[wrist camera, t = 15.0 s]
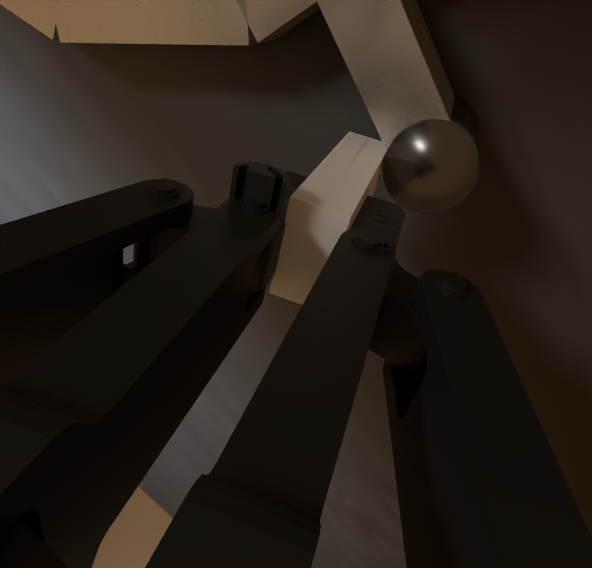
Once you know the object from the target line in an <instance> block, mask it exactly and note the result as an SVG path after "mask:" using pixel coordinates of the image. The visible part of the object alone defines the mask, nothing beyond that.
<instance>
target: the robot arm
mask: <svg viewBox="0 0 592 568" xmlns="http://www.w3.org/2000/svg"><path fill="white" fill-rule="evenodd" d="M386 152H387V150H386V148H385V146H384V144H383V142H382V141H379V140H376V139H373V138H369V137H366V136H363V135H360V134H356V133H353V132H350V131H349V132H348V134H347V135H346V136H345V137H344V138H343V139H342V140H341V141H340V142H339V143H338V145H337V146H336V147H335V148H334V149H333V150H332V151H331V152H330V153H329V155H328V156H327V157H326V158H325V159H324V160H323V161H322V162H321V163H320V164H319V166H318V167H317V168H316V169H315V170H314V171H313V172H312V173H311V174H310V175H309V177H304V176H301V175H298V174H295V173H292V172H289V171H287V172H283V171H281V170H280V169H278V168H276V167H273V166H271V165H267V164H263V163H256V162H241V163H238V164H235V165H234V168H233V176H232V183H231V190H230V197H229V198H228V199H227V200H226V201H225V202H224V203H222V204H221V205H220V206H219V207H218V208H209V207H203V206H197V205H193V198H194V193H193V192H192V190H191V189H190V188H189V187H187V186H186V185H184V184H181V183H178V182H177V181H175V180H169V179H152V180H146V181H142V182H139V183H136V184H132V185H129V186H126V187H122V188H119V189H116V190H113V191H109V192H106V193H103V194H100V195H96V196H93V197H90V198H87V199H83V200H80V201H77V202H73V203H70V204H67V205H64V206H60V207H57V208H54V209H51V210H47V211H44V212H41V213H37V214H34V215H31V216H28V217H24V218H21V219H18V220H15V221H11V222H8V223H5V224H2V225H0V568H92V565H93V562H94V559H95V556H96V554H97V551H98V548H99V546H100V544H101V542H102V540H103V538H104V536H105V534H106V533H107V531H108V529H109V528H110V526H111V525H112V523H113V522H114V521H115V519H116V518H117V516H118V515H119V513H120V512H121V510H122V509H123V507H124V506H125V504H126V503H127V501H128V500H129V498H130V497H131V495H132V494H133V493H134V491H135V489H136V488H137V487H138V485H139V484H140V482H141V481H142V479H143V478H144V476H145V475H146V473H147V472H148V470H149V469H150V468H151V466H152V465H153V463H154V462H155V460H156V459H157V457H158V456H159V454H160V453H161V451H162V450H163V448H164V447H165V445H166V444H167V442H168V441H169V440H170V438H171V437H172V435H173V434H174V432H175V431H176V429H177V428H178V426H179V425H180V423H181V422H182V420H183V419H184V417H185V416H186V414H187V413H188V412H189V410H190V409H191V407H192V406H193V404H194V403H195V401H196V400H197V398H198V397H199V395H200V394H201V392H202V391H203V389H204V388H205V386H206V385H207V384H208V382H209V381H210V379H211V378H212V376H213V375H214V373H215V372H216V370H217V369H218V367H219V366H220V364H221V363H222V361H223V360H224V359H225V357H226V356H227V354H228V353H229V351H230V350H231V348H232V347H233V345H234V344H235V342H236V341H237V339H238V338H239V336H240V335H241V333H242V332H243V331H244V329H245V328H246V326H247V325H248V323H249V322H250V320H251V319H252V317H253V316H254V314H255V313H256V311H257V310H258V308H259V307H260V305H261V304H262V302H263V299H264V294H265V290H266V286H267V284H268V283H269V281H270V280H271V278H272V277H273V278H272V282H271V287H270V291H269V293H271V294H273V295H276V296H279V297H282V298H284V299H287V300H290V301H293V302H295V303H298V304H301V305H302V307H301V309H300V310H299V312H298V314H297V316H296V318H295V320H294V321H293V323H292V325H291V327H290V329H289V331H288V332H287V334H286V336H285V338H284V340H283V342H282V343H281V345H280V347H279V349H278V351H277V353H276V354H275V356H274V358H273V360H272V362H271V364H270V366H269V367H268V369H267V371H266V373H265V375H264V377H263V378H262V380H261V382H260V384H259V386H258V388H257V389H256V391H255V393H254V395H253V397H252V399H251V400H250V402H249V404H248V406H247V408H246V410H245V411H244V413H243V415H242V417H241V419H240V421H239V422H238V424H237V426H236V428H235V430H234V432H233V433H232V435H231V437H230V439H229V441H228V443H227V444H226V446H225V448H224V450H223V452H222V454H221V455H220V457H219V459H218V461H217V463H216V464H215V466H214V468H213V469H212V471H211V472H210V473H209V474H208V475H205V474H202V475H201V476H200V477H199V478H198V479H197V480H196V481H195V483H194V484H193V486H192V488H191V489H190V491H189V492H188V494H187V495H186V497H185V499H184V501H183V502H182V504H181V506H180V508H179V509H178V511H177V513H176V515H175V516H174V518H173V520H172V522H171V523H170V525H169V527H168V529H167V530H166V532H165V534H164V536H163V538H162V539H161V541H160V543H159V544H158V546H157V548H156V550H155V551H154V553H153V555H152V557H151V558H150V560H149V562H148V564H147V565H146V567H145V568H311V565H312V561H313V558H314V554H315V550H316V546H317V543H318V539H319V534H320V529H321V524H320V517H321V513H322V510H323V506H324V503H325V499H326V496H327V492H328V489H329V485H330V482H331V478H332V475H333V471H334V468H335V464H336V461H337V457H338V454H339V450H340V447H341V443H342V440H343V436H344V433H345V429H346V426H347V422H348V419H349V415H350V412H351V408H352V405H353V401H354V398H355V394H356V391H357V387H358V384H359V380H360V377H361V373H362V370H363V366H364V363H365V359H366V356H367V352H368V349H369V350H371V351H372V352H374V353H376V354H377V355H379V356H380V357H382V358H383V359H385V362H384V366H383V375H384V383H385V392H386V400H387V408H388V417H389V425H390V433H391V442H392V450H393V458H394V466H395V475H396V483H397V491H398V500H399V508H400V516H401V525H402V533H403V541H404V549H405V558H406V566H407V568H592V538H591V536H590V533H589V531H588V529H587V527H586V524H585V522H584V520H583V518H582V516H581V513H580V511H579V509H578V507H577V504H576V502H575V500H574V498H573V496H572V493H571V491H570V489H569V487H568V484H567V482H566V480H565V478H564V476H563V473H562V471H561V469H560V467H559V465H558V462H557V460H556V458H555V456H554V453H553V451H552V449H551V447H550V445H549V442H548V440H547V438H546V436H545V433H544V431H543V429H542V427H541V425H540V422H539V420H538V418H537V416H536V414H535V411H534V409H533V407H532V405H531V402H530V400H529V398H528V396H527V394H526V391H525V389H524V387H523V385H522V382H521V380H520V378H519V376H518V374H517V371H516V369H515V367H514V365H513V363H512V360H511V358H510V356H509V354H508V351H507V349H506V347H505V345H504V343H503V340H502V338H501V336H500V334H499V331H498V329H497V327H496V325H495V323H494V320H493V318H492V316H491V314H490V311H489V309H488V307H487V305H486V303H485V300H484V298H483V296H482V294H481V292H480V291H479V290H478V288H477V287H476V286H475V285H474V284H472V283H471V282H470V281H468V279H467V278H465V277H463V276H460V275H459V274H457V273H451V272H448V271H444V270H429V271H426V272H425V273H424V274H422V276H421V278H420V279H419V278H417V277H415V276H414V275H412V274H410V273H409V272H407V271H406V270H404V269H403V268H402V267H401V266H400V265H399V264H398V263H397V261H396V260H395V255H396V250H395V248H396V244H397V241H398V237H399V234H400V230H401V227H402V223H403V220H404V217H405V214H404V212H403V210H402V208H401V207H400V206H399V205H396V204H393V203H390V202H387V201H384V200H380V199H377V198H374V197H373V196H374V193H375V189H376V186H377V183H378V180H379V177H380V174H381V171H382V168H383V162H384V158H385V154H386ZM132 244H134V259H133V262H131V263H128V264H124V263H123V249H124V248H125V247H127V246H129V245H132Z"/></svg>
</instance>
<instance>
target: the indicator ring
mask: <svg viewBox="0 0 592 568" xmlns="http://www.w3.org/2000/svg"><path fill="white" fill-rule="evenodd" d="M0 5H2V6H3V7H5V8H6V9H8V10H9V11H11V12H12V13H14V14H15V15H17V16H18V17H20V18H21V19H23V20H24V21H26V22H27V23H28V24H30V25H31V26H33V27H34V28H36V29H37V30H39V31H40V32H42V33H43V34H45V35H46V36H48V37H49V38H51V39H52V40H57V39H60V43H121V44H185V45H254V44H259V43H264V42H268V41H269V40H274V39H278V38H279V37H280V36H282V35H283V34H285V33H286V32H288V31H289V30H291V29H292V28H293V27H295V26H296V25H298V24H299V23H301V22H302V21H304V20H305V19H307V18H308V17H309V16H311V15H312V14H314V13H315V12H317V11H318V10H320V9H321V11H322V13H323V16H324V18H325V20H326V22H327V24H328V26H329V28H330V30H331V33H332V35H333V37H334V39H335V41H336V43H337V45H338V48H339V50H340V52H341V54H342V56H343V58H344V60H345V63H346V65H347V67H348V69H349V71H350V73H351V75H352V77H353V80H354V82H355V84H356V86H357V88H358V90H359V92H360V95H361V97H362V99H363V101H364V103H365V105H366V107H367V109H368V112H369V114H370V116H371V118H372V120H373V122H374V124H375V127H376V129H377V131H378V133H379V135H380V137H381V139H382V142H383V144H384V146H385V148H386V150H387V152H386V154H385V158H384V162H383V178H384V182H385V185H386V188H387V190H388V191H389V193H390V195H391V196H392V197H393V198H394V199H395V201H396V202H398V203H399V204H400V205H401V206H403V207H405V208H406V209H409V210H411V211H414V212H417V213H422V214H436V213H441V212H444V211H447V210H450V209H452V208H454V207H455V206H457V205H459V204H460V203H461V202H462V201H464V200H465V199H466V198H467V197H468V195H469V194H470V193H471V192H472V190H473V188H474V186H475V184H476V182H477V179H478V175H479V169H480V162H479V144H478V126H477V120H476V116H475V114H474V112H473V110H472V109H471V107H470V106H469V105H468V104H467V103H466V102H465V101H464V100H462V99H461V98H459V97H456V96H454V93H453V91H452V88H451V86H450V83H449V81H448V78H447V76H446V73H445V71H444V68H443V66H442V63H441V61H440V58H439V56H438V53H437V51H436V48H435V46H434V43H433V41H432V38H431V36H430V34H429V31H428V29H427V26H426V24H425V21H424V19H423V16H422V14H421V11H420V9H419V6H418V4H417V1H416V0H0Z"/></svg>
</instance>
